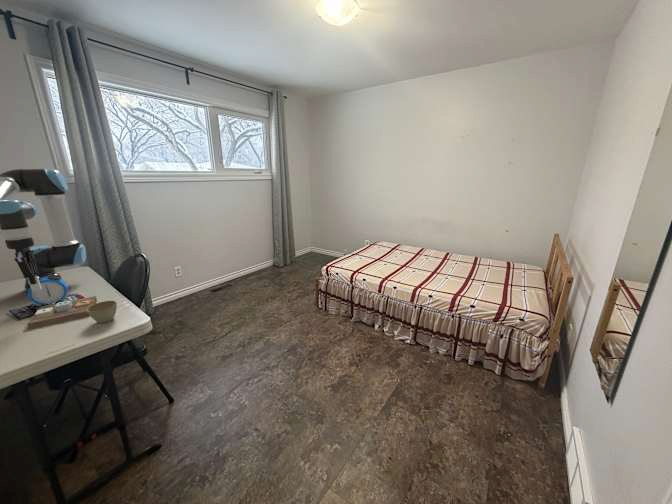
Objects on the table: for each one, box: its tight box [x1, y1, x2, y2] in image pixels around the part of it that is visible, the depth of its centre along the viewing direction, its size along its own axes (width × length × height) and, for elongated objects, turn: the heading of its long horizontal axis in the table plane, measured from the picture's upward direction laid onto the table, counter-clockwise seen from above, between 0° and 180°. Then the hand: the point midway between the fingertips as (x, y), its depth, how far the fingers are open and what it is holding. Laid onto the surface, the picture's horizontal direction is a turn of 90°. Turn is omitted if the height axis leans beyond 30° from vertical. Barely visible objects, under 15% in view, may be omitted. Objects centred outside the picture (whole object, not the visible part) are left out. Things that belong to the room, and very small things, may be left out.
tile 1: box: [34, 307, 54, 316], centre depth 121 cm, size 5×5×3 cm
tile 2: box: [76, 300, 91, 308], centre depth 128 cm, size 5×5×3 cm
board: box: [26, 295, 98, 329], centre depth 124 cm, size 18×20×2 cm
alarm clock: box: [27, 272, 69, 306], centre depth 133 cm, size 13×6×15 cm, turn 132°
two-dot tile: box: [55, 299, 73, 312], centre depth 124 cm, size 5×5×3 cm
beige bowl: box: [87, 300, 118, 324], centre depth 117 cm, size 10×10×7 cm
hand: (37, 290), depth 118 cm, fingers closed
